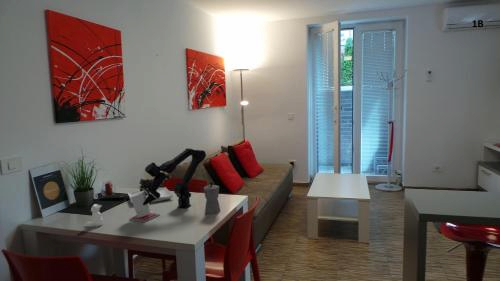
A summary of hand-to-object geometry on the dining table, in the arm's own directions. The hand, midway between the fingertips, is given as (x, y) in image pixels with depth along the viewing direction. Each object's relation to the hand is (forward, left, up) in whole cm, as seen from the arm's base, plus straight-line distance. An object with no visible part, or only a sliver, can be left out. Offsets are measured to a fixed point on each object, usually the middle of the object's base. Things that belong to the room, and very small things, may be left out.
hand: (140, 203), depth 201 cm
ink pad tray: (-1, -1, -9) cm, 9 cm away
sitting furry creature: (+17, +17, -9) cm, 25 cm away
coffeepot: (-33, -24, -9) cm, 42 cm away
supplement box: (-1, -1, -7) cm, 7 cm away
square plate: (+24, -34, -10) cm, 43 cm away
